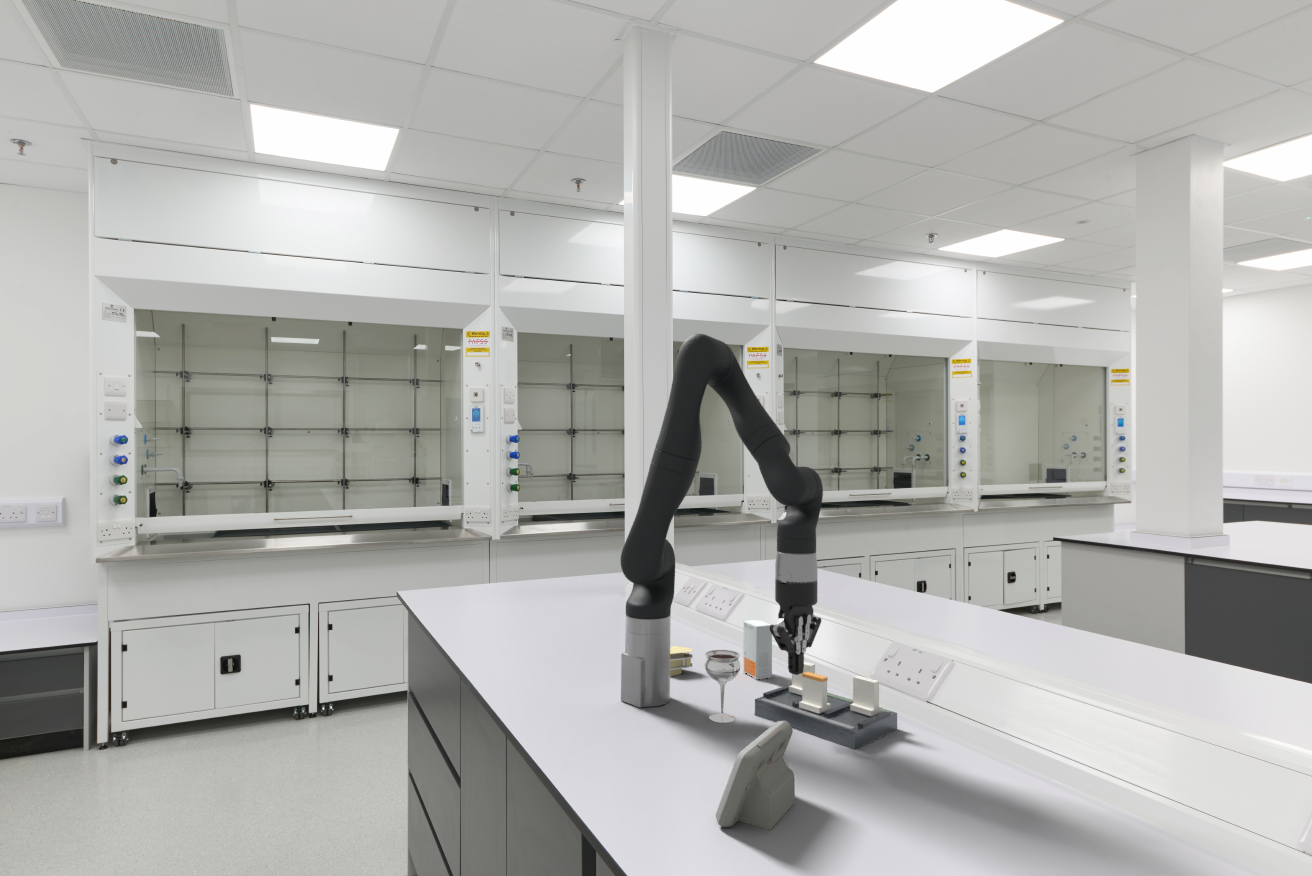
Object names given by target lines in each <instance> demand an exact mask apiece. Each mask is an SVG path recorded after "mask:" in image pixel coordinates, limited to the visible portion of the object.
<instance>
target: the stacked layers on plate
mask: <svg viewBox="0 0 1312 876" xmlns="http://www.w3.org/2000/svg"><path fill="white" fill-rule="evenodd" d="M690 652H693V648H690V647H684V646H678V645H674V646H670V677H672V676H678V675H682V674H683V669H688V668H693V663H692V659H693V654H691V653H690ZM681 673H682V674H681Z"/></svg>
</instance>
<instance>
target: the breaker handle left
mask: <svg viewBox="0 0 1312 876" xmlns="http://www.w3.org/2000/svg"><path fill="white" fill-rule="evenodd" d="M805 672H811V673H814V674H816V664H815V663H812V662H808V661H804V668H803V673H805ZM791 684H792V685H791V686H789V692H792V693H796V694H799V695H802V674H798V675H795V674H791Z"/></svg>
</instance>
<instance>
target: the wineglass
mask: <svg viewBox="0 0 1312 876" xmlns="http://www.w3.org/2000/svg"><path fill="white" fill-rule="evenodd" d="M704 655H705V656H706V660H705V662H704V669H705V671H706V673H707V675H708V676H709V677H710V678H711V679H712V680H714V681H716V682H717V684H719V685H720V711H721V712H719V713H713V714H710V715H709V720H711V721H713V722H716V723H721V724H722V723H723V724H724V723H725V724H726V723H732V722H734V721H735V720H736V717H735V716H734V715H733V714H729V713H725V712H724V706H725V705H724V704H725V703H724V702H725V685H727V684H728V682H731V681H732V680H734V679H735V678H736V677H737V676H738V675H739V673H740V670H741V662H740V660H739V658H740V656H741V654H740V653H739V652H737V651H734V650H729V649H715V650H714V649H711V650H708V651H706V652H705V654H704Z"/></svg>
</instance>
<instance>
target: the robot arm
mask: <svg viewBox="0 0 1312 876" xmlns="http://www.w3.org/2000/svg"><path fill="white" fill-rule="evenodd" d="M671 383H672V384H671V389H670V393H669V398H668V402H667V405H666V409H665V411H664V416H663V421H662V424H661V428H660V431H659V434H658V438H657V441H656V444H655V446H654V450H653V454H652V457H651V459H650V465H649V470H648V473H647V476H646V481H645V483H644V487H643V491H642V494H641V498H640V502H639V505H638V508H637V509H638V510H637V512H636V515H635V518H634V520H633V523H632V525H631V527H630V530H629V532H628V535H627V537H626V540H625V542H624V546H623V547H622V550H621V554H620V569H621V572H622V573H623V575H624V577H625V578H626V579H627V580H628V581H629V582H631V583H632V584H633V585H632V589H631V592H630V594H629V596H628V598H627V600H626V602H625V633H624V634H625V636H624V637H625V638H624V639H625V640H624V642H625V643H624V652H622V653H621V657H620V661H621V663H620V667H621V668H620V701H622V702H624V703H627V704H629V705H632V706H635V707H638V708H639V709H640V708H645V707H647V708H648V707H657V706H658V707H659V706H663V705H665V704H667V703H669V701H670V699H671V676H670V647H671V625H672V624H671V613H672V612H671V610H672V609H671V608H672V604H673V601H674V598H675V597H674V596H675V585H676V584H675V581H676V556H675V551H674V548H673V546H672V544H671V542H670V541H669V540H668V539H667V537H668V531H669V530H670V525H671V523H672V521H673V518H674V516H675V515H676V513H677V511H678V509H679V507H680V506H681V504H682V503H683V500H684V499H685V497H686V495H687V494H688V492H689V490H690V488H691V487H692V483H693V481H694V478H695V476H696V472H697V469H698V465H699V462H700V458H701V455H702V446H703V444H702V443H703V441H702V431H701V430H702V428H701V406H702V403H703V402H702V401H703V398H704V395H705V391H706V388H707V385H708V386H709V387H710V388H711V389H713V391H714V392H715V393H717V395H718V396H719V397H720V398H721V400H722V401H723V402H724V404H725V405H726V406H727V409H728V411H729V413H730V415H731V419H732V422H733V425H734V428H735V431H736V433H737V435H738V436H739V439H740V440H741V442H742V443H743V445H744V447H745V448H746V449H747V450H748V452H749V453H750V454H751V456H752V457H753V459H754V460H755V462H756V463H757V465H758V468H759V471H760V474H761V476H762V480H763V481H764V483H765V486H766V488H767V490H768V491H769V493H770V495H771V496H772V497H773V498H774V499H775V500H776V501H777V503H780V504H781V505H783V506H785V507H786V506H787V507H786V511H785V512H786V515H785V516H784V517H783V519H781V520H780V521H779V522H778V523H777V528H776V556H775V557H776V558H775V567H774V568H775V572H774V573H775V578H774V579H775V581H774V582H775V583H774V584H775V587H774V589H775V591H774V595H775V596H774V597H775V599H774V600H775V602H776V603H777V604H778V606H779V611H778V614H777V618H778V620H777V622H776V623H775V624H770V631H771V633H772V638H774V640H775V642H776V644H777V646H778V648H779V649H780V651H783V652H786V653H787V655H788V656H787V661H788V662H787V669H788V672H789V674H791V675H792V674H795V675H798V674H802V673H803V668H804V662H805V653H806V651H807V649H808V648H811V647H812V645H813V643H814V641H815V638H816V636H817V633H818V631H819V628H820V626H821V623H822V618H821V617H818V616H816V615H815V614H814V607H813V606H816V604H818V569H819V568H818V559H817V525H818V522H819V518H820V513H821V508H822V503H823V496H824V488H823V482H822V479H821V476H820V475H819V474H818V472H817V471H816V470H814V469H813V468H811V467H809V466H796V465H795V463H794V462H793V461H792V458H791V457H790V453H791V445H790V443H789V441H788V439H787V438H786V436H785V435H784V434H783V432H782V430H780V428H779V427H778V425H777V424H776V423H775V421H774V420H773V419H772V417H771V416H770V415H769V413H768V412H767V410H766V409H765V408H764V406H763V405H762V403H761V402H760V400H759V398H758V397H757V395H756V394H755V392H754V390H753V389H752V387H751V385H750V383H749V381H748V380H747V377H746V375H745V373H744V372H743V370H742V367H741V366H740V363H739V361H738V360H737V357H736V355H735V353H734V352H733V350H732V348H731V347H730V346H729V345H728V344H727V343H725V342H724V341H721V340H720V339H717V338H714V337H712V336H710V335H707V334H704V333H695V334H692V335H689V336H688V337H687V338H686V339H685V340H684V341H683V343H682V344H681V346H680V347H679V350H678V353H677V356H676V360H675V365H674V370H673V377H672V382H671Z"/></svg>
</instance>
